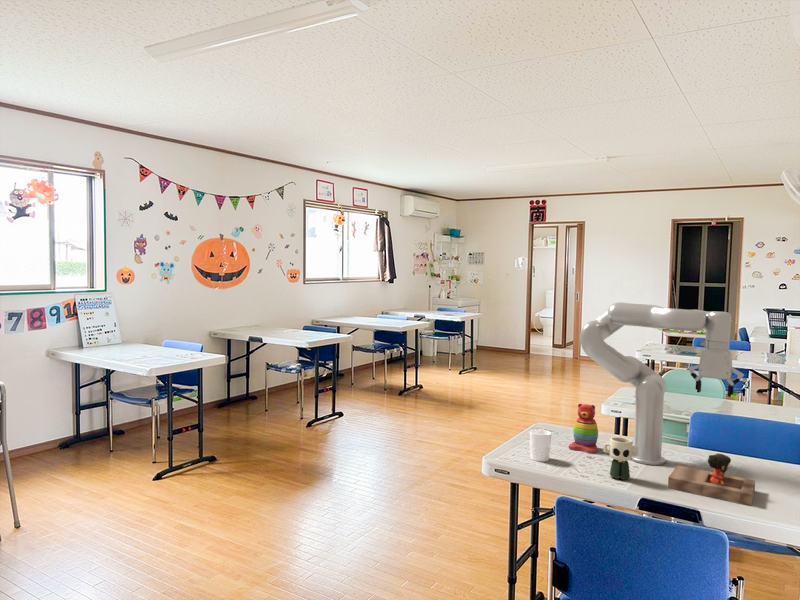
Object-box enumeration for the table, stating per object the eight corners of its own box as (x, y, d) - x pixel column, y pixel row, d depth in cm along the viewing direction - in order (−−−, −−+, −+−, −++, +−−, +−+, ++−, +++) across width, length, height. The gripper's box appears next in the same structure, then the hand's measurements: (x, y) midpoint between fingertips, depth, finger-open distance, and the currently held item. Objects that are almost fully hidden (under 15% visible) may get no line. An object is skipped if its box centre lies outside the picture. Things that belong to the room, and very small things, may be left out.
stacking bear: (567, 449, 224) (569, 404, 224) (575, 443, 233) (577, 400, 232) (594, 454, 218) (596, 408, 218) (602, 448, 227) (604, 404, 226)
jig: (667, 488, 183) (668, 477, 183) (676, 475, 196) (677, 465, 196) (751, 506, 170) (752, 494, 170) (754, 491, 183) (755, 480, 183)
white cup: (526, 460, 208) (528, 433, 208) (530, 454, 215) (531, 428, 215) (549, 463, 205) (550, 436, 205) (551, 457, 212) (552, 431, 212)
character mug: (602, 478, 190) (604, 440, 190) (602, 472, 197) (603, 435, 197) (637, 483, 187) (639, 444, 186) (636, 476, 194) (637, 438, 193)
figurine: (721, 495, 178) (723, 457, 178) (704, 489, 183) (706, 452, 183) (732, 492, 181) (734, 455, 181) (715, 487, 186) (717, 450, 186)
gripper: (688, 344, 204) (684, 391, 204) (743, 349, 193) (740, 399, 194) (692, 343, 210) (689, 389, 210) (746, 348, 199) (743, 396, 200)
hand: (713, 394), depth 202 cm, fingers open, 9 cm apart
